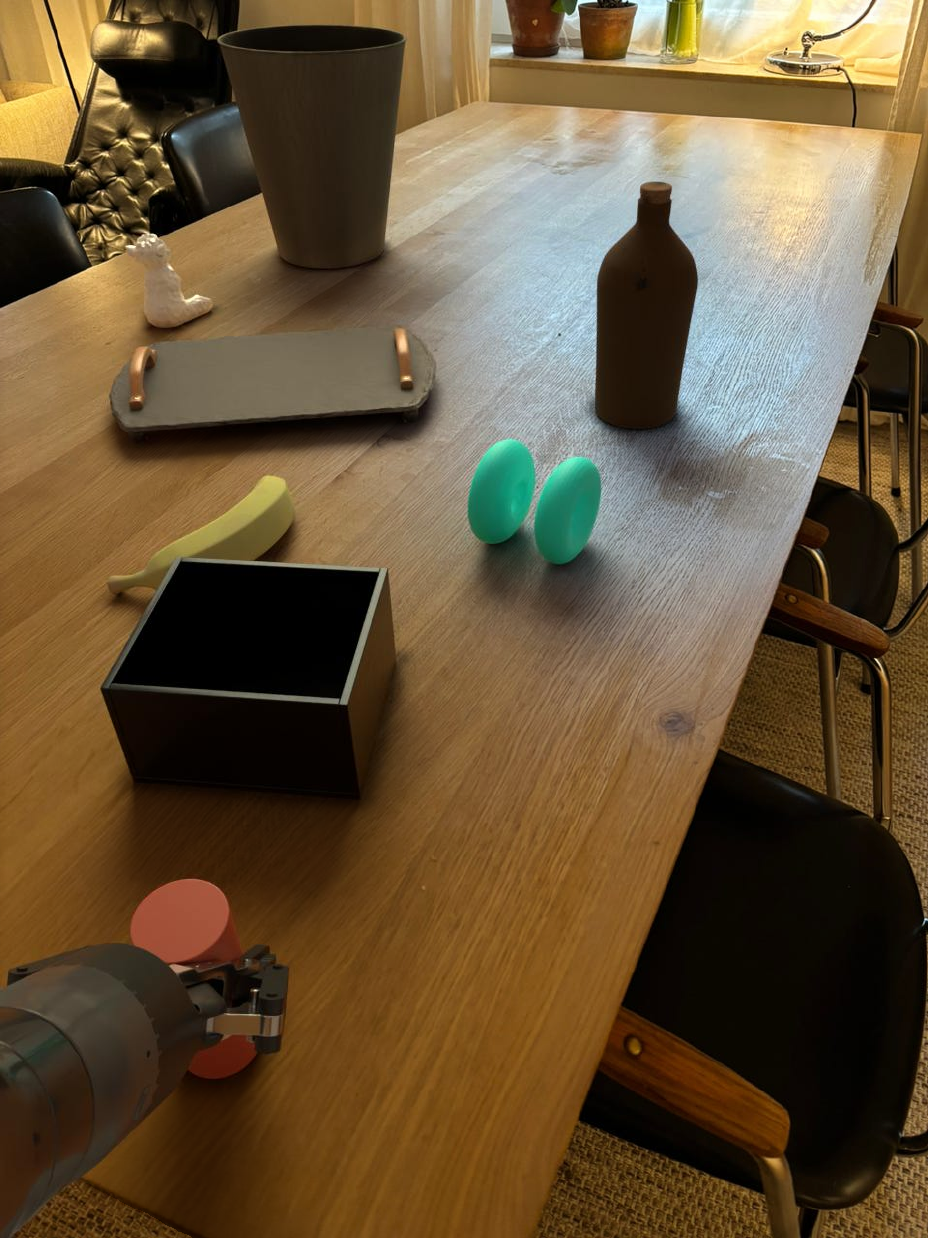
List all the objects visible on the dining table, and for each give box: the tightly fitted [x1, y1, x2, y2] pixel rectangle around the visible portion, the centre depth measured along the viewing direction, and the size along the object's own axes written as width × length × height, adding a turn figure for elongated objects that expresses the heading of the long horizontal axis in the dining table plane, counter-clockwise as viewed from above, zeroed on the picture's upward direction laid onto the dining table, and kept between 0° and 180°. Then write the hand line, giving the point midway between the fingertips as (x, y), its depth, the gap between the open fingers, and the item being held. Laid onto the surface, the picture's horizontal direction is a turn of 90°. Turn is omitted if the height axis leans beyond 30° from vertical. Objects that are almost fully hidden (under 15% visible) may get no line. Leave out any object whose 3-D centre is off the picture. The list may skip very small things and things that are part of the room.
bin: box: [99, 557, 397, 800], centre depth 75 cm, size 17×15×10 cm
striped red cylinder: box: [129, 878, 258, 1080], centre depth 54 cm, size 5×5×12 cm
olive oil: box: [594, 181, 699, 430], centre depth 108 cm, size 11×11×25 cm
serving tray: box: [108, 325, 437, 445], centre depth 119 cm, size 39×23×6 cm, turn 97°
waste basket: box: [216, 23, 408, 269], centre depth 149 cm, size 27×20×30 cm
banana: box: [106, 475, 296, 595], centre depth 95 cm, size 14×6×20 cm
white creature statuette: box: [124, 233, 214, 329], centre depth 135 cm, size 10×9×12 cm
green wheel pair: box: [467, 438, 602, 565], centre depth 92 cm, size 10×10×10 cm
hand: (213, 958), depth 56 cm, fingers closed on striped red cylinder, 5 cm apart
